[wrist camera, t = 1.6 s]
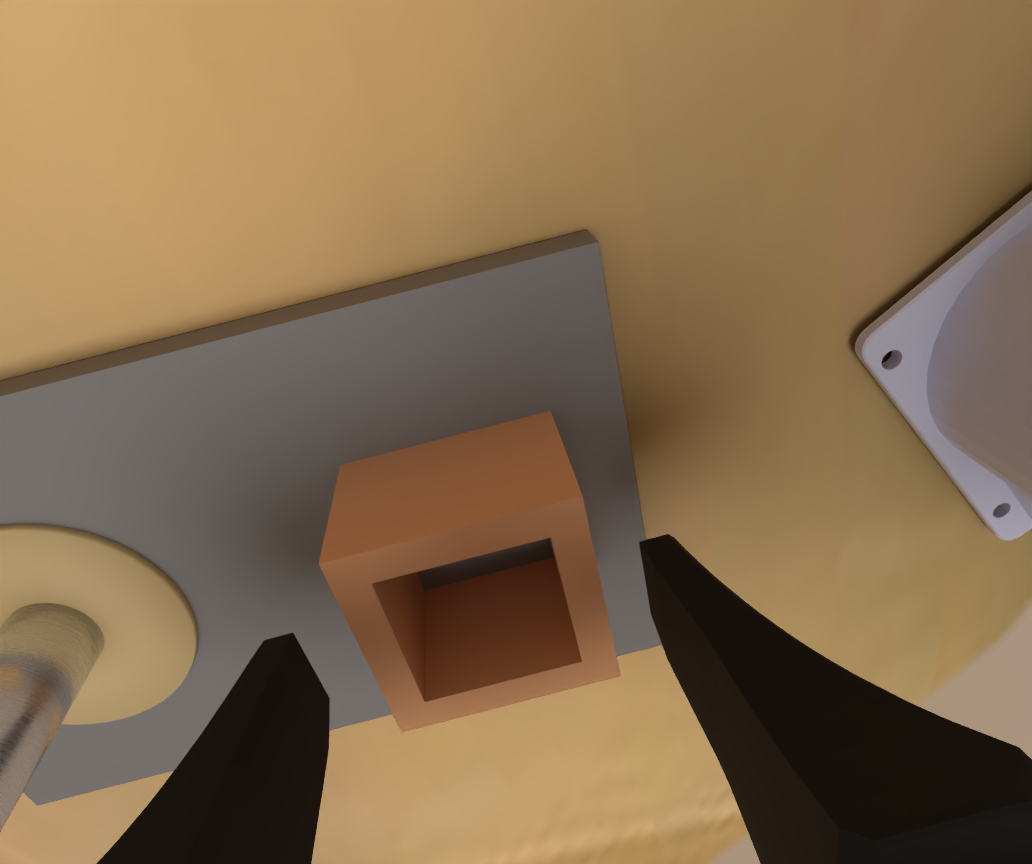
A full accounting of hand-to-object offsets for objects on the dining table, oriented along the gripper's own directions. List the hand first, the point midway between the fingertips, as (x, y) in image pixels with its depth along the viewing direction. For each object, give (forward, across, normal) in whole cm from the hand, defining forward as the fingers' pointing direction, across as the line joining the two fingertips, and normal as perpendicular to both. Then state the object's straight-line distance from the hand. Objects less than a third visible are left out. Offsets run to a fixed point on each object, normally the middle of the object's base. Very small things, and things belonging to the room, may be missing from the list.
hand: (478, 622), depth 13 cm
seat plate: (+5, +5, 0) cm, 7 cm away
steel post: (+5, +10, 0) cm, 11 cm away
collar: (+3, 0, 0) cm, 3 cm away
